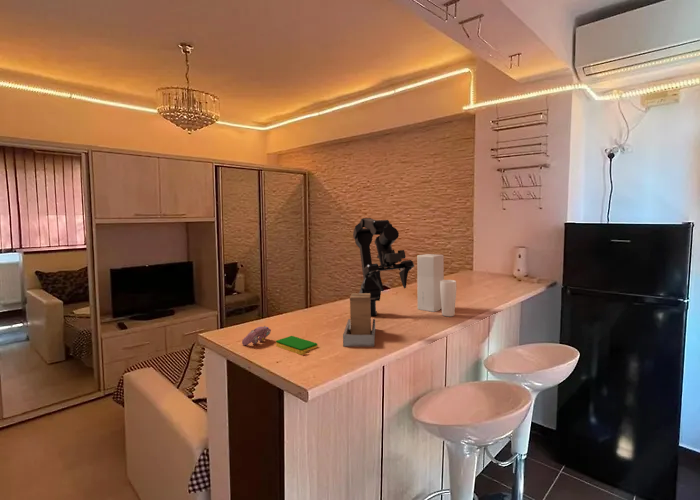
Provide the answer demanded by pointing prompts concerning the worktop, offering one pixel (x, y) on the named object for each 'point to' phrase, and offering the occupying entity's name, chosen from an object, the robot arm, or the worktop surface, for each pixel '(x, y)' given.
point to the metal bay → (358, 337)
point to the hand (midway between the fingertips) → (394, 289)
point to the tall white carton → (429, 281)
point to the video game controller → (256, 335)
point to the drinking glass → (448, 297)
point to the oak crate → (360, 313)
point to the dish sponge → (296, 344)
